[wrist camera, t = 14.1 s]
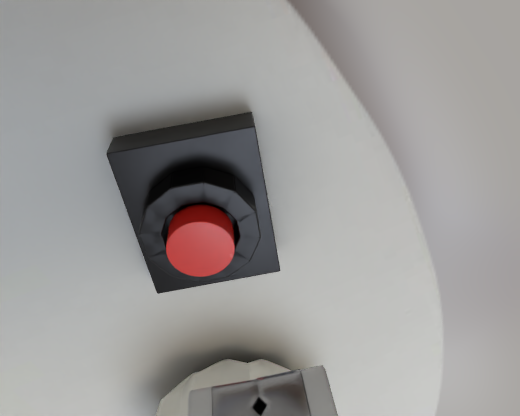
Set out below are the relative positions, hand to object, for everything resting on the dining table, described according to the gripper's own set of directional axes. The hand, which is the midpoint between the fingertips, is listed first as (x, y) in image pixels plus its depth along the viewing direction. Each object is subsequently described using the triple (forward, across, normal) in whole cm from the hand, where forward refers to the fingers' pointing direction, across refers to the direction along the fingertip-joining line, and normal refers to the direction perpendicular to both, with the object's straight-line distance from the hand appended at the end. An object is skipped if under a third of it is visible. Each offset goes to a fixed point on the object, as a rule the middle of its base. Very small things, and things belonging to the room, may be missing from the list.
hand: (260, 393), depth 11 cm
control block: (+19, +2, +6) cm, 20 cm away
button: (+15, +2, +6) cm, 17 cm away
